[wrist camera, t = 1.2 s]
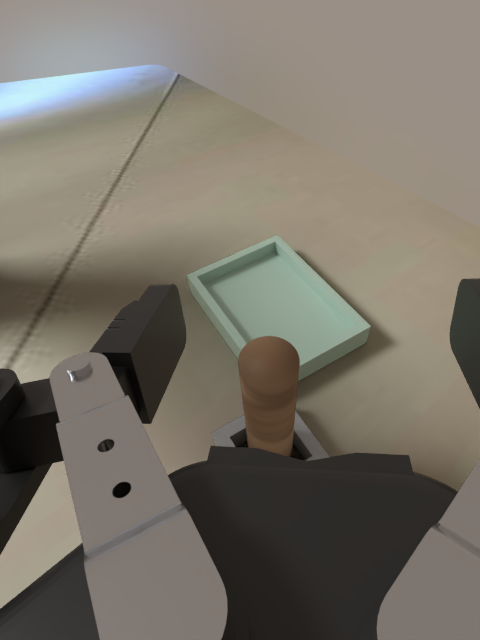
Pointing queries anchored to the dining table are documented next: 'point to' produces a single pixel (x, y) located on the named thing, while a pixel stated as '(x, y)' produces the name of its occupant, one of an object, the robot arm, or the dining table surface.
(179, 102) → the dining table surface
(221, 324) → the tray
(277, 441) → the dowel
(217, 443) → the holder
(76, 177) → the dining table surface
